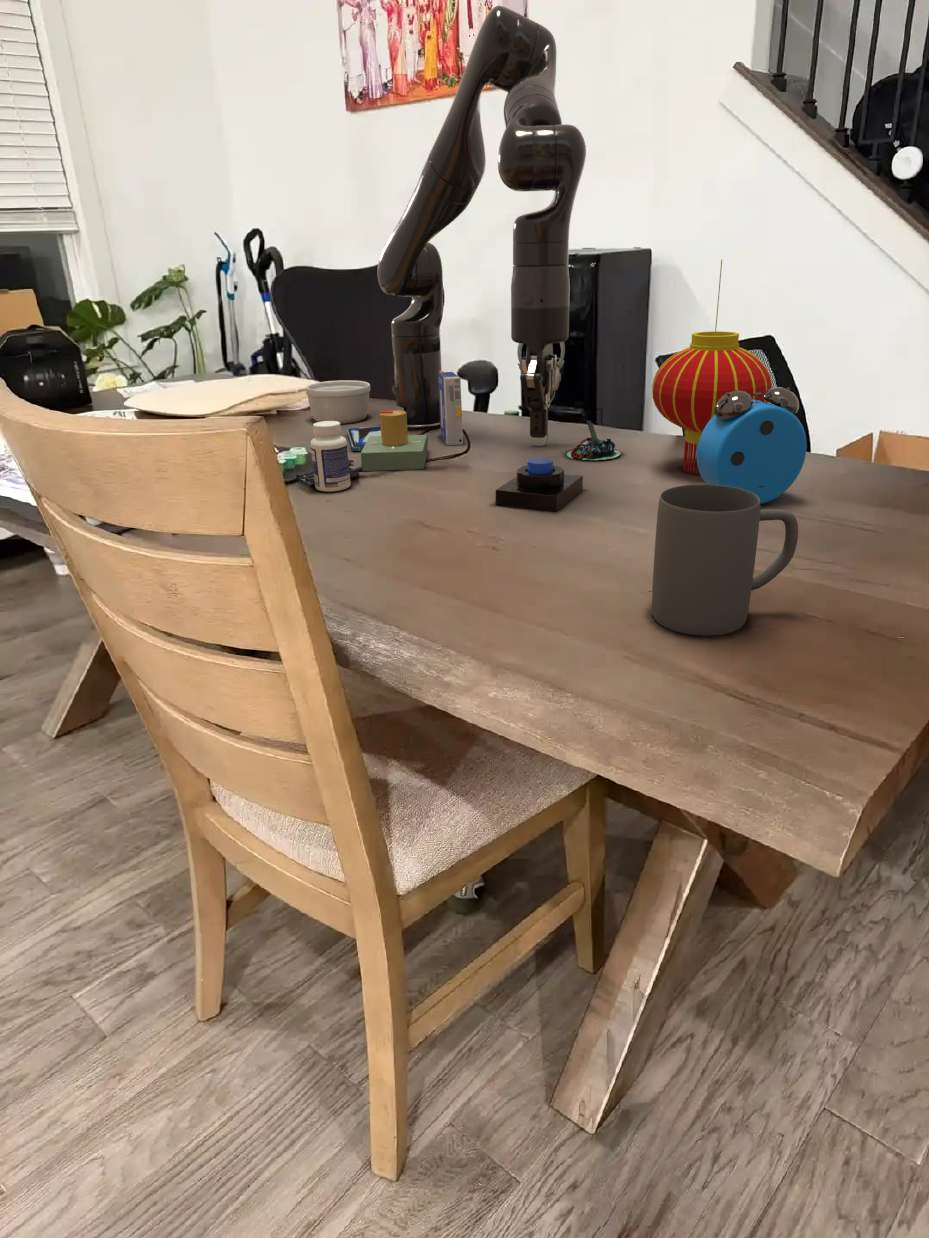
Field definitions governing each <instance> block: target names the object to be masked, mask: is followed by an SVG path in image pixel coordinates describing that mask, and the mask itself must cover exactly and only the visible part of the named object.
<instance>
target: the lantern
mask: <svg viewBox="0 0 929 1238" xmlns="http://www.w3.org/2000/svg"><path fill="white" fill-rule="evenodd" d="M722 267H723V259H720V270H719V271H720V272H719V281H718V293H717V294H718V295H717V306H716V315H715V316H716V317H715V318H716V319H715V327H714V328H715V329H714V331H711V330H710V331H698V332H693V333H691V343H689V347H687V348H684V349H682V350H679V351H678V352H676V353H674V354H672V355H671V356H670V357H668V358H667V359H665V361H664V362H663V363H661V365H660V366H659V367H658V369H657V371H656V373H655V375H654V377H653V380H652V385H651V388H652V390H651V393H652V400H653V403H654V406H655V408H656V409H657V412H658V413H660V415H661V416H662V417H663V418H664V419H666V420H667V421H668V422H669V423H671V424H673V425H675V426H677V427H679V428H681V429H684V435H685V439H684V450H683V451H684V452H683V462H682V470H683V471H684V472H687V473H689V474H694V475H698V473H699V475H700V472H699V469H698V465H697V448H698V443H699V440H700V437H701V434H702V432H703V430H704V428H705V427H706V425H707V424H708V422H709V421H710V420H711V418H712V417H713V416H714V415H715V413H714V408H715V404H716V403H717V401H718V400H719V398H720V397H721V396H723V395H724V394H726V393H727V392H731V391H735V390H740V391H744V392H746V393H748V394H749V395H750V396H751V398H752V400H756V399H757V400H759V401H762V402H765V403H769V402H768V401H766V400H765V399H763V398H762V395H763V394H764V393H765V392H766V391H767V390H768V389H770V388H773V380H772V377H771V374H770V372H769V370H768V369H767V366H766V365H765V364H764V362H762V360H761V359H760V358H759V357H757V356H756V355H755V354H754V353H753V352H751V351H749V350H747V349H745V348H744V347H743V348H742V347H740V343H739V339H740V333H739V332H735V331H719V330H717V327H718V315H719V314H718V313H719V302H720V293H721V292H720V291H721V279H722ZM753 393H761V395H760V396H758V397H757V396H753Z"/></svg>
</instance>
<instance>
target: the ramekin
mask: <svg viewBox="0 0 929 1238" xmlns="http://www.w3.org/2000/svg"><path fill="white" fill-rule="evenodd" d="M370 392H371V384H370V383H369V382H367V381H363V380H354V379H353V380H352V379H351V380H350V379H349V380H347V379H346V380H344V379H343V380H342V379H341V380H340V379H339V380H327V381H320V382H314V383H310V384H308V385H306V386H305V394H306V395H307V398H308V399H307V401H308V405H309V411H310V414H311V417H312V418H313V420H315V421H316V423H317V422H322V421H337V422H340V425H341V424H342V425H343V424H351V423H357V422H361V421H364V420H365V419H366V418H367V417H368V415H369V411H370V410H369V409H370Z"/></svg>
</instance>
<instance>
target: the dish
mask: <svg viewBox="0 0 929 1238" xmlns="http://www.w3.org/2000/svg"><path fill="white" fill-rule="evenodd" d="M586 424H587V427H588V430H589V434H590V436H588V437H587V438H583V439H582V441H580V442H579V443H578V444H577V445H576V447H574V448H573V449H571V450H570V451H568V452H567V453H566V456H567V457H568V458H570V459H572V460H574V459H575V460H576V459H577V460H579V461H599V460H601V461H602V460H609V459H611V460H613V459H615V458H617V457H619V456H621V454H622V453H621V452H620V451H618V450H616V449H615V447H616V444H615V442H613V441H612V439H611V438H612V437H606V440H605V439H604V440H600V439H599V438H598V435H597V432H596V430H595V426H594V423H593V422H592V421H591V420H588V419H586Z"/></svg>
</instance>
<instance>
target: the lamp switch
mask: <svg viewBox="0 0 929 1238" xmlns="http://www.w3.org/2000/svg"><path fill="white" fill-rule="evenodd" d="M583 487H584V476H583V475H581V474H580V475H578V474H569V473H565V470H564V468H563V467H561V466H559V465H554V464H553V473H548V474H531V473H528V472H527V465H523V466H520V467H519V468H517V469H516V476H515V477H513V478H512V479H510V480H509V481H507V482H506V483H504V484H503V485H501V486H499V487H498V488H496V489H495V506H500V507H501V506H502V507H509V508H518V509H527V510H536V511H545V512H558V511H559V510H560V509H562V508H563V507H564V506H565V505H566V504H568V503H569V502H570V501H571V500H573V499H574V498H575V497H576V496H577V495H579V494H580V493H581V492H582V491H583V490H584V488H583Z"/></svg>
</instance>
